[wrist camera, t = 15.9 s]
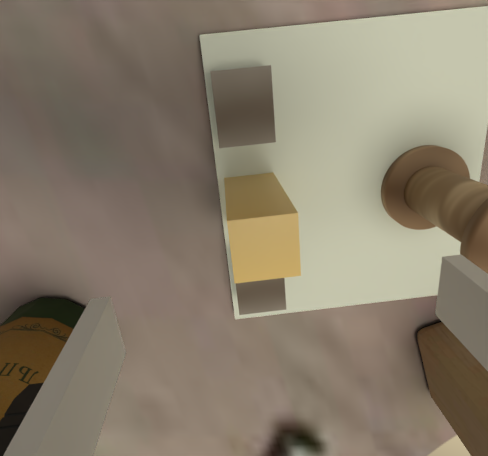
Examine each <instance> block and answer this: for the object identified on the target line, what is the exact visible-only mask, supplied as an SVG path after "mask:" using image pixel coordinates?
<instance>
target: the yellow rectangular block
mask: <svg viewBox="0 0 488 456" xmlns="http://www.w3.org/2000/svg"><path fill="white" fill-rule="evenodd" d="M224 184H225V200H226V215H227V226H228V234H229V243H230V251H231V259H232V267H233V275H234V284H235V283H244V282H252V281H261V280H269V279H278V278H286V277H295V276H301V264H300V242H299V220H298V212H297V210H296V209H295V207H294V205H293V204H292V202H291V200H290V199H289V197H288V196H287V194H286V192H285V191H284V189H283V187H282V186H281V184H280V183H279V181H278V179H277V178H276V176H275V174H274V173H264V174H255V175H246V176H237V177H228V178H224Z"/></svg>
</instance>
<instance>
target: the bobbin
mask: <svg viewBox="0 0 488 456" xmlns="http://www.w3.org/2000/svg"><path fill="white" fill-rule="evenodd" d="M381 200H382V204H383V207H384V209H385V211H386V212H387V214H388V215H389V216H390V217H391V218H392V219H394V220H395V221H396V222H398V223H399V224H400V225H402V226H404V227H406V228H409V229H415V230H424V229H430V228H433V227H436V226H437V227H438V228H440V229H441V230H443V231H445V232H446V233H448V234H449V235H451V236H452V237H454V238H455V239H457V240H458V241H460V242H461V246H460V255H463V256H464V257H465V258H467V259H468V260H469V261H471V262H472V263H474V264H475V265H476V266H478V267H479V268H480V269H482V270H483V271H485V272H486V273H487V274H488V185H486V184H483V183H480V182H478V181H475V180H472V179H470V174H469V170H468V167H467V165H466V163H465V161H464V160H463V158H462V157H461V156H460V155H458V154H457V153H456V152H454V151H452V150H450V149H447V148H444V147H440V146H436V145H423V146H418V147H415V148H413V149H410V150H408V151H407V152H405V153H403V154H402V155H401V156H399V157H398V158H397V159H396V160H395V161H394V162H393V163H392V164H391V166H390V167H389V169H388V170H387V172H386V174H385V176H384V179H383V182H382V186H381Z"/></svg>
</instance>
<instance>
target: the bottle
mask: <svg viewBox="0 0 488 456" xmlns="http://www.w3.org/2000/svg"><path fill="white" fill-rule="evenodd" d="M84 310H85V309H84V308H82V307H80V306H78V305H76V304H75V303H73V302H71V301H69V300H67V299H53V298H39V299H37V300H34V301H32V302H30V303H28V304H25V305H23V306H21V307H19V308H18V309H17V310H16V311H15V312H14V313H13V314H12V315H11V316H10V317H9V318H8V319H7V320H6V321H5V322H4V323H3V324H1V325H0V420H1V419H2V418H3V417H4V414H5V412H6V411H7V409H8V408H9V406H10V404H11V403H12V401H13V400H14V398H15V397H16V396H17V395H18V394H20V393H21V392H22V391H23V390H24V389H25V388H26V387H27V386H28V385H29V384H36V383H44V381H45V380H46V378H47V376H48V374H49V373H50V371H51V369H52V367H53V365H54V364H55V362H56V360H57V358H58V356H59V355H60V353H61V351H62V349H63V347H64V346H65V344H66V342H67V340H68V339H69V337H70V335H71V333H72V331H73V330H74V328H75V326H76V324H77V322H78V321H79V319H80V317H81V315H82V313H83V312H84Z"/></svg>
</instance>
